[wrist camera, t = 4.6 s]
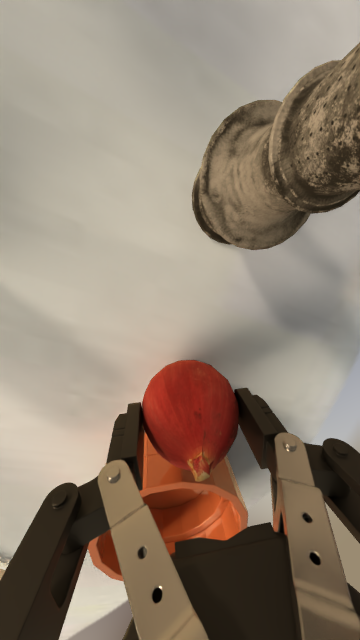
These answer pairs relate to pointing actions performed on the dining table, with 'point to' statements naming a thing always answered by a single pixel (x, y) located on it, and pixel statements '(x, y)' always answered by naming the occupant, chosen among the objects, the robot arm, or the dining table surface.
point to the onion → (190, 416)
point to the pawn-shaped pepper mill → (283, 159)
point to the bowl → (180, 507)
